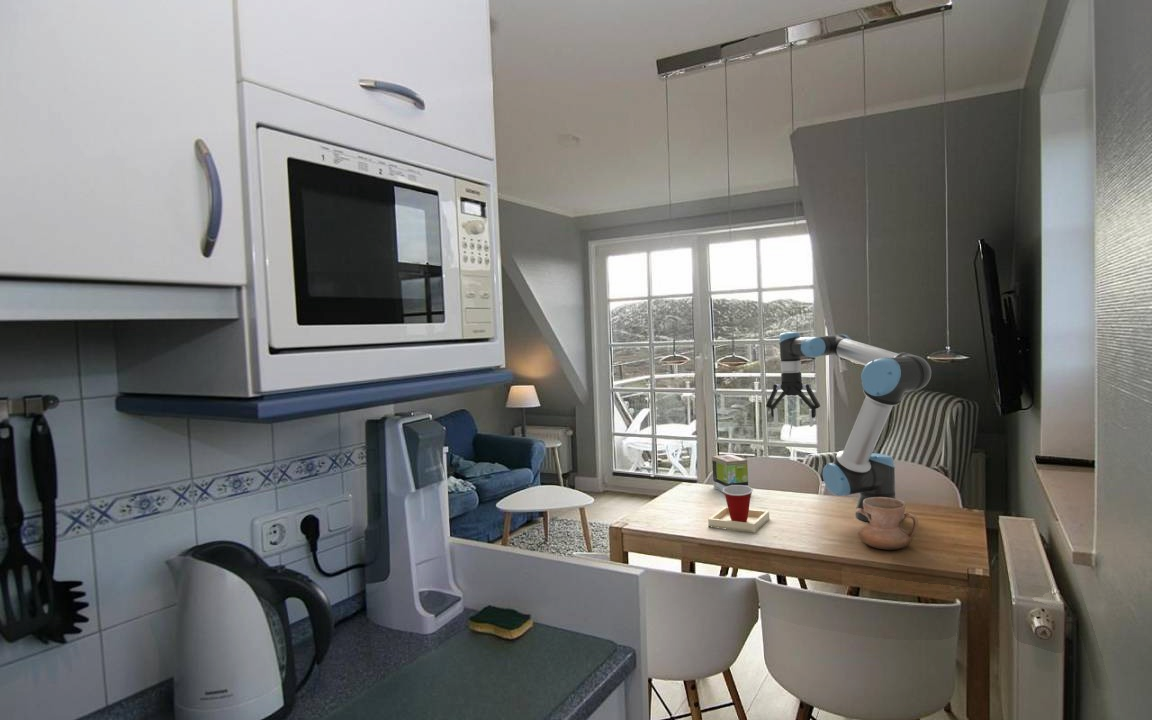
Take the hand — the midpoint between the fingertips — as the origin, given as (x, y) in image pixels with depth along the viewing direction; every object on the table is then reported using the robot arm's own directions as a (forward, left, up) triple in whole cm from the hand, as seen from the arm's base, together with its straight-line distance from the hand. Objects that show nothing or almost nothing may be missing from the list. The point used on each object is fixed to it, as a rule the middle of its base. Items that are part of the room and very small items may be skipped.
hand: (793, 425), depth 251 cm
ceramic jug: (-37, +35, -32) cm, 60 cm away
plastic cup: (+13, +30, -31) cm, 45 cm away
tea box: (+32, -13, -32) cm, 47 cm away
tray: (+13, +30, -32) cm, 46 cm away
